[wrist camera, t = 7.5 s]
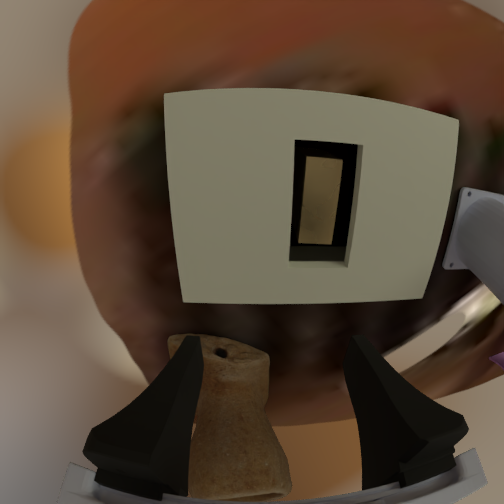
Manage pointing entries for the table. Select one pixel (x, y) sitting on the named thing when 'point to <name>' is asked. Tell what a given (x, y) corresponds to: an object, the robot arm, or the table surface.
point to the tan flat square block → (315, 194)
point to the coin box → (281, 192)
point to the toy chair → (498, 359)
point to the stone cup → (234, 426)
